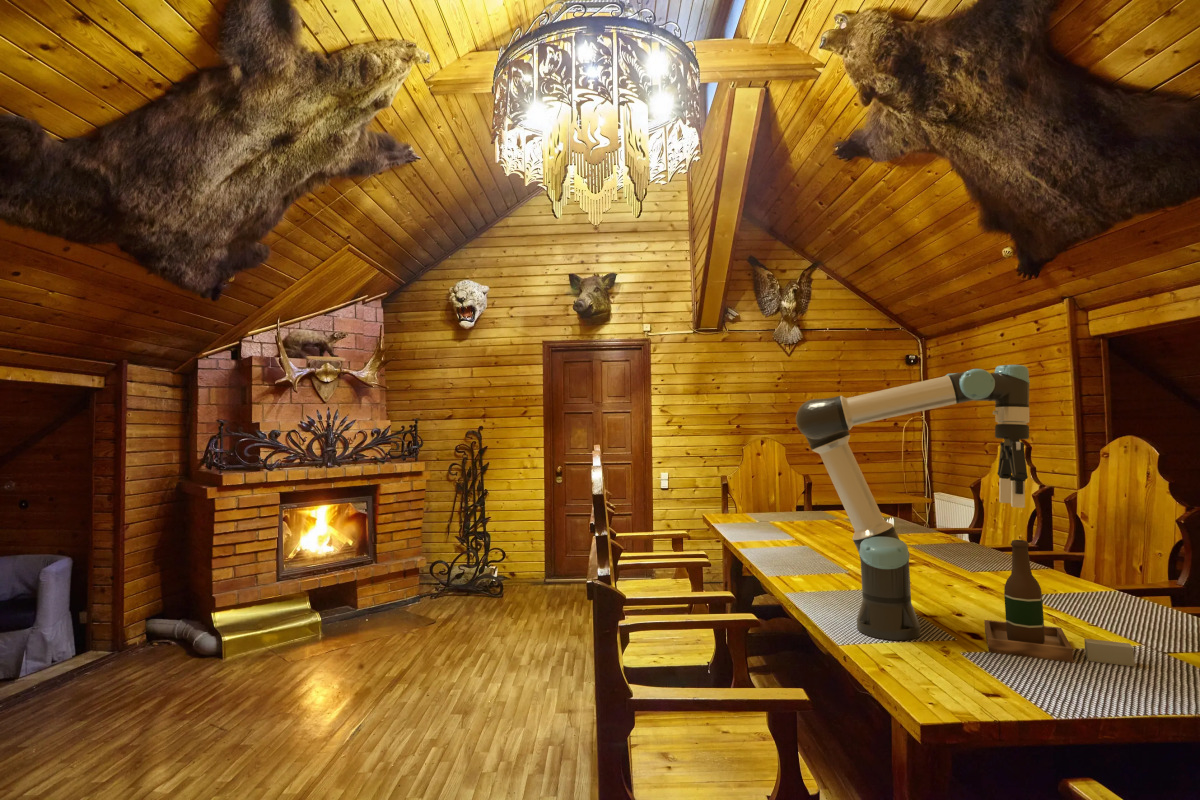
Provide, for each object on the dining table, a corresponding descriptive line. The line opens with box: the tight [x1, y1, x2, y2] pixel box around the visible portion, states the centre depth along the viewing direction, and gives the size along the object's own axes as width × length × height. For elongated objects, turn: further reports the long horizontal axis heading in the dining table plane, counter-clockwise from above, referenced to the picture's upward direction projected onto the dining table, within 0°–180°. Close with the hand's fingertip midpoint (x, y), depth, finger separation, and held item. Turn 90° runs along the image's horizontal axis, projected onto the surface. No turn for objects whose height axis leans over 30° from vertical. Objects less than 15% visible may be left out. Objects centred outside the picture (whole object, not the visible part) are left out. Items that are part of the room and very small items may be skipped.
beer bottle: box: [1003, 539, 1045, 644], centre depth 149 cm, size 8×8×24 cm
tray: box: [983, 619, 1075, 663], centre depth 148 cm, size 16×16×3 cm
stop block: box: [1084, 638, 1136, 667], centre depth 138 cm, size 8×3×4 cm, turn 61°
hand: (1011, 505), depth 162 cm, fingers open, 13 cm apart
